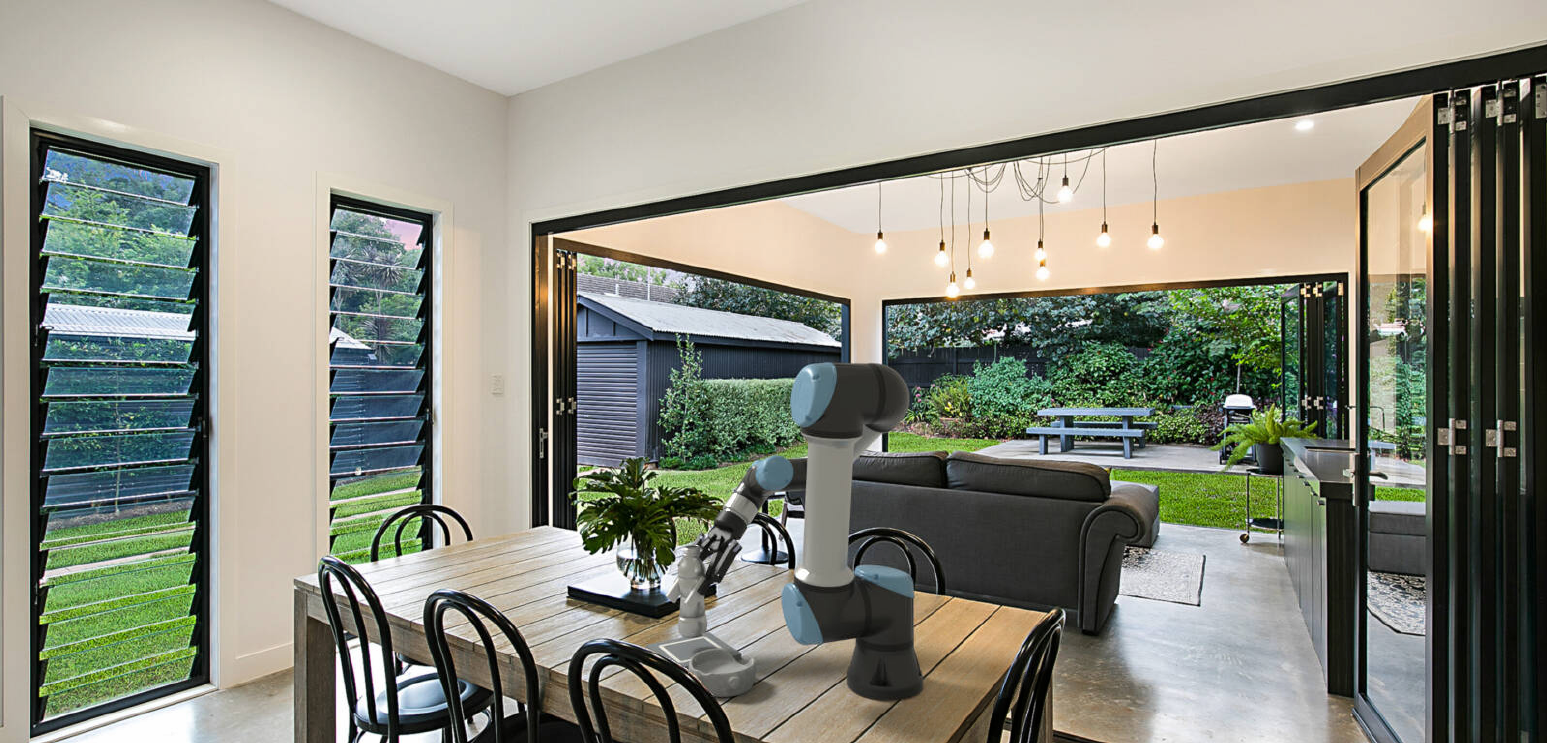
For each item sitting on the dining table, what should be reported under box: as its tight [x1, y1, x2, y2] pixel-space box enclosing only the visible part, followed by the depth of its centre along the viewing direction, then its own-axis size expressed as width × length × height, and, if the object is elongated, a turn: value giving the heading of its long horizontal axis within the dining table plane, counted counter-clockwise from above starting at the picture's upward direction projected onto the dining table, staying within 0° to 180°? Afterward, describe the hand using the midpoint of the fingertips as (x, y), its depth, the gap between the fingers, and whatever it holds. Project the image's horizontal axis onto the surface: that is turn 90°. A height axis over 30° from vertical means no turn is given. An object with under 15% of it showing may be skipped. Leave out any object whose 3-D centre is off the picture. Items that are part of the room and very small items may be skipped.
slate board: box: [645, 631, 742, 670], centre depth 164 cm, size 16×16×1 cm
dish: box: [688, 649, 757, 698], centre depth 147 cm, size 14×14×5 cm
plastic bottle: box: [676, 544, 708, 638], centre depth 164 cm, size 6×7×20 cm
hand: (679, 602), depth 161 cm, fingers closed on plastic bottle, 6 cm apart
